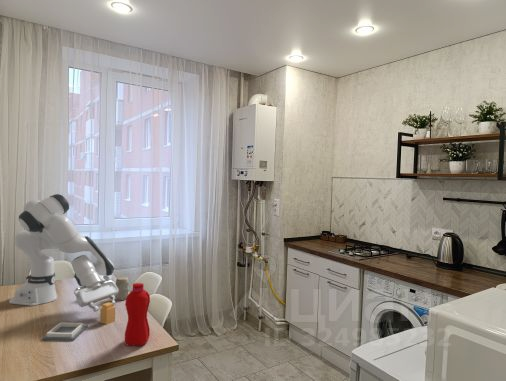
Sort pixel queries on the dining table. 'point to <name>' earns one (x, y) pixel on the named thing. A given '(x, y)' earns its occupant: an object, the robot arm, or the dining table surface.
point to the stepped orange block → (107, 313)
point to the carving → (122, 288)
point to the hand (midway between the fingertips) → (105, 307)
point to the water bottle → (137, 316)
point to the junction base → (65, 332)
